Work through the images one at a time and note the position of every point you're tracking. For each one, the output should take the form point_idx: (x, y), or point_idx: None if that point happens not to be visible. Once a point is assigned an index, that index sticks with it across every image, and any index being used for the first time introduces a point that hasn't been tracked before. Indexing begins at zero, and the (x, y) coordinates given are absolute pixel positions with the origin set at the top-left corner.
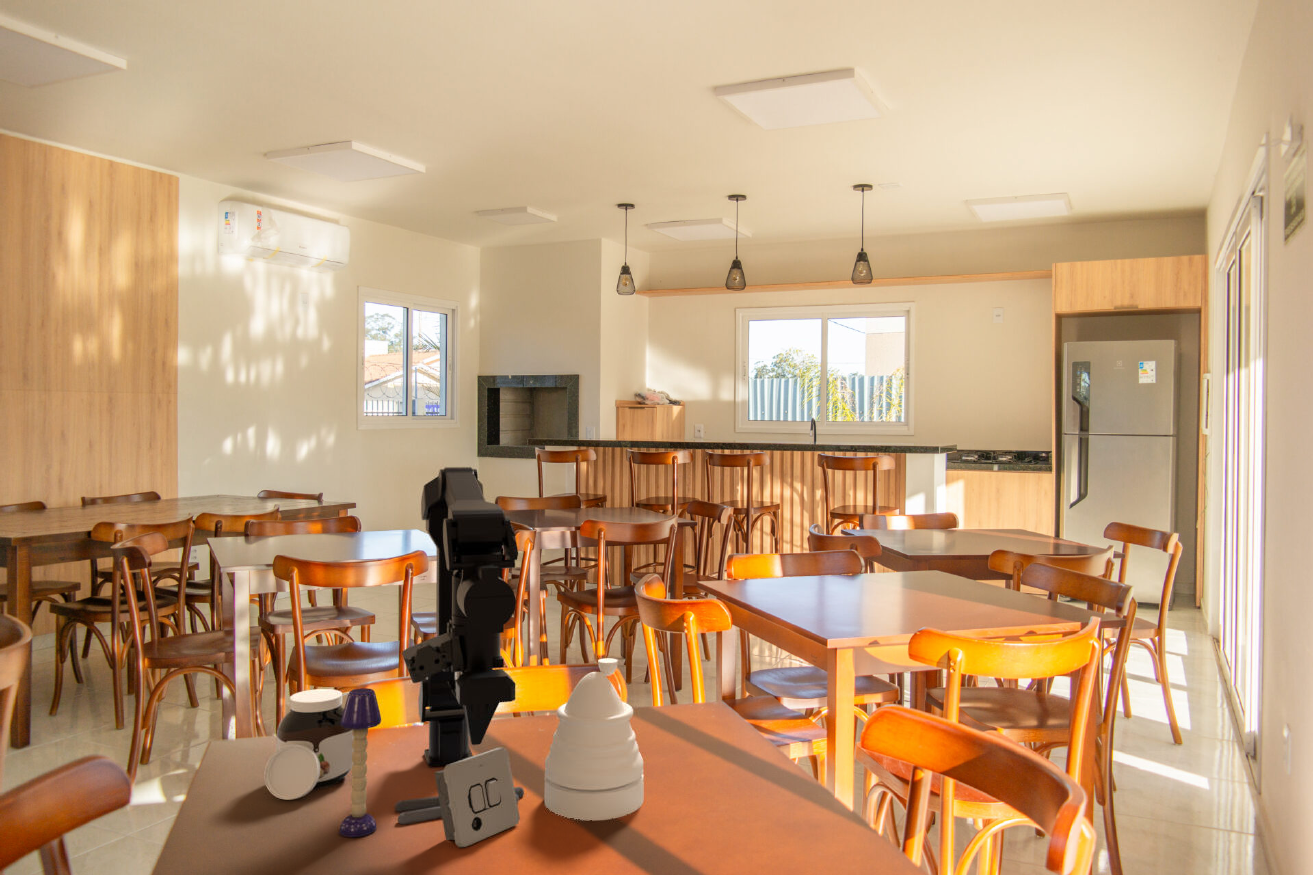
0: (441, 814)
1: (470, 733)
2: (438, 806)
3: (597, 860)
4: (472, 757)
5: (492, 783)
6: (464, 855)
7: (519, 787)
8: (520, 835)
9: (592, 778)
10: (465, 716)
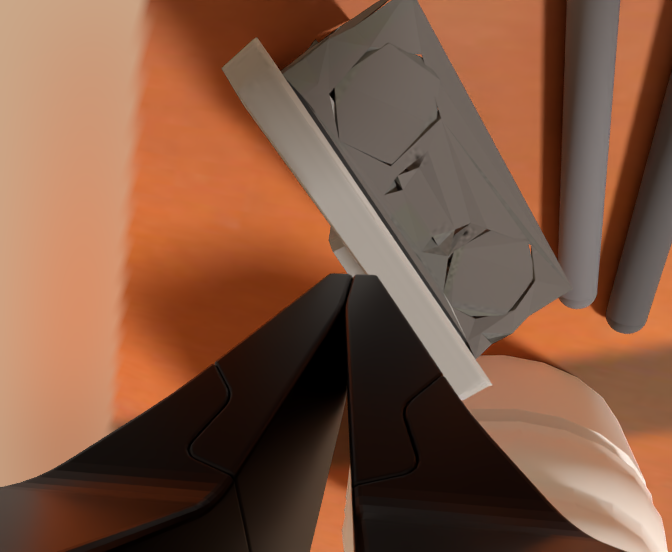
0: (567, 22)
1: (288, 307)
2: (606, 12)
3: (140, 372)
4: (356, 236)
5: (340, 260)
6: (209, 73)
7: (628, 327)
8: (315, 254)
9: (347, 515)
10: (414, 363)
